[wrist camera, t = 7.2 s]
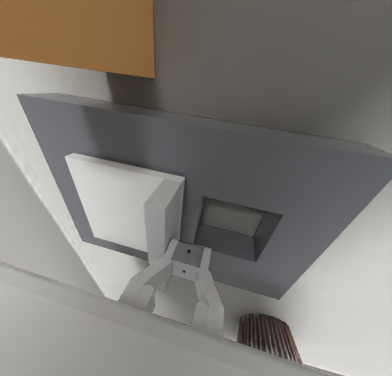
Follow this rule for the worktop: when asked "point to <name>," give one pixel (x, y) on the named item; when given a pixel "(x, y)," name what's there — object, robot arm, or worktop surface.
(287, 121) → the worktop surface
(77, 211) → the socket plate
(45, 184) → the worktop surface
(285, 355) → the cupcake
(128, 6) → the orange block
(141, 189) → the shutter
